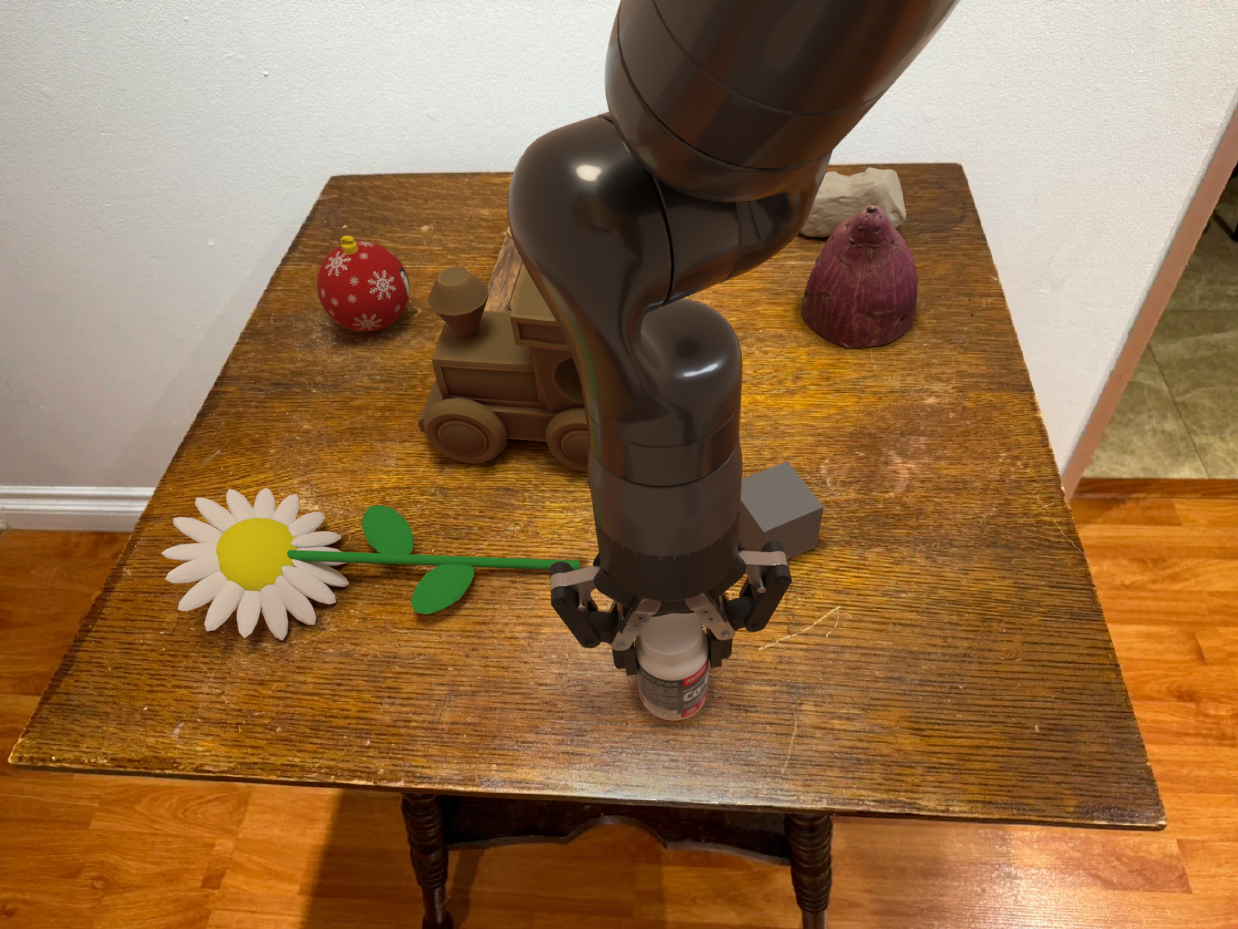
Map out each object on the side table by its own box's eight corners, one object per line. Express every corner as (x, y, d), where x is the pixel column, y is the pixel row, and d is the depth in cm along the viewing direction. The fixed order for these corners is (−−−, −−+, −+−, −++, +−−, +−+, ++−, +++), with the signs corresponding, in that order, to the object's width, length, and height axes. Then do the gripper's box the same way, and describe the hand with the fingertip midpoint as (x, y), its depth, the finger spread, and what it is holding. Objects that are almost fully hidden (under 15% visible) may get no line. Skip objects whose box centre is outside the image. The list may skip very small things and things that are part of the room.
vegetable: (883, 381, 83) (919, 285, 70) (782, 338, 86) (798, 238, 72) (927, 298, 87) (970, 191, 73) (829, 259, 89) (852, 149, 76)
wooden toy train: (669, 389, 80) (665, 231, 67) (652, 486, 73) (643, 329, 60) (457, 374, 83) (414, 221, 70) (420, 466, 76) (365, 314, 63)
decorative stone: (899, 180, 97) (924, 141, 87) (889, 262, 96) (912, 232, 86) (799, 169, 98) (811, 129, 88) (788, 250, 97) (799, 220, 87)
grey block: (817, 547, 68) (824, 506, 64) (759, 572, 66) (763, 532, 63) (782, 501, 71) (787, 460, 67) (727, 524, 70) (729, 483, 66)
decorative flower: (580, 518, 74) (209, 503, 72) (582, 483, 70) (191, 467, 68) (575, 660, 66) (159, 647, 64) (577, 629, 62) (135, 615, 60)
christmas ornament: (344, 295, 92) (312, 211, 85) (425, 293, 91) (401, 208, 84) (323, 351, 86) (287, 266, 79) (409, 349, 86) (382, 263, 78)
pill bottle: (695, 732, 58) (695, 670, 52) (628, 709, 60) (620, 646, 54) (717, 670, 61) (719, 605, 55) (653, 650, 63) (648, 584, 56)
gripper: (524, 567, 42) (564, 724, 55) (824, 537, 42) (794, 701, 55) (523, 450, 47) (560, 619, 60) (792, 424, 47) (771, 598, 60)
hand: (672, 658), depth 57 cm, fingers closed on pill bottle, 4 cm apart
